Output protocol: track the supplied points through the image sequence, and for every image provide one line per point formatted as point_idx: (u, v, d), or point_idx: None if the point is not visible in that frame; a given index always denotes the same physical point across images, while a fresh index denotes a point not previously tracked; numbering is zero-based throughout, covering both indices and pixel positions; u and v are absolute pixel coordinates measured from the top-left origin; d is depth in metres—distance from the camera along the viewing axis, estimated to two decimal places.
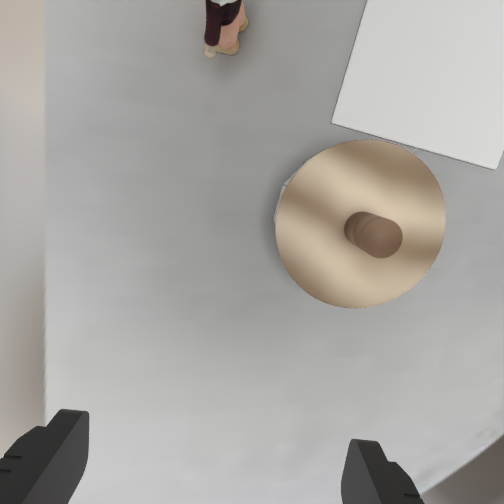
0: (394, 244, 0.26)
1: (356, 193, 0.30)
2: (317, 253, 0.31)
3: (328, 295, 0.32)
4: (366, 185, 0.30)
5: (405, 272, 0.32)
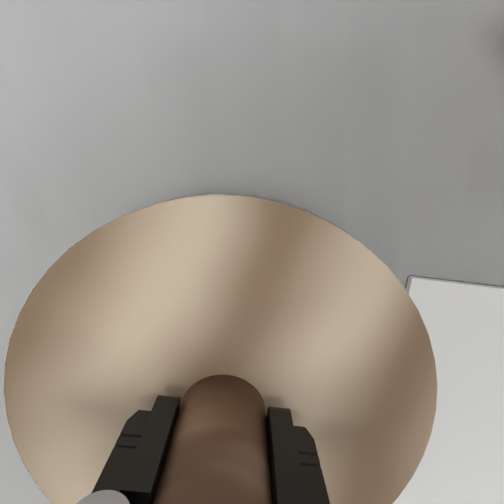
0: None
1: (308, 385, 0.12)
2: (137, 321, 0.11)
3: (27, 369, 0.12)
4: (329, 404, 0.12)
5: None
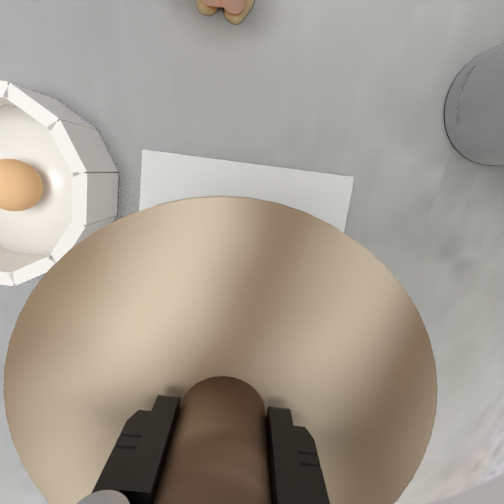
0: None
1: (308, 387, 0.12)
2: (136, 322, 0.11)
3: (27, 371, 0.12)
4: (329, 406, 0.12)
5: None
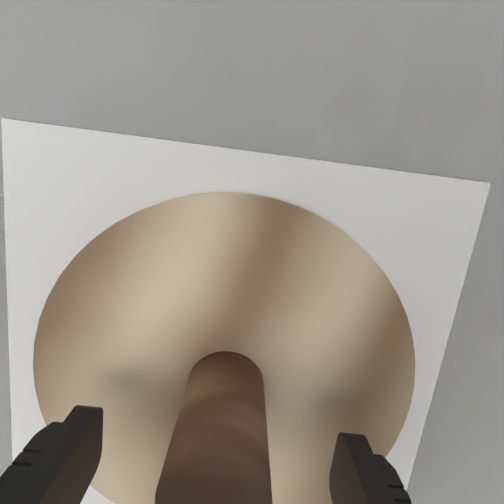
0: None
1: (301, 361, 0.14)
2: (151, 303, 0.13)
3: (54, 346, 0.13)
4: (320, 378, 0.14)
5: (146, 487, 0.15)
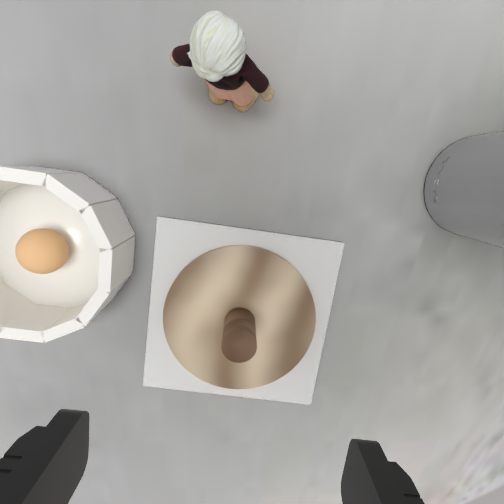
0: (235, 357, 0.29)
1: (270, 312, 0.34)
2: (211, 287, 0.33)
3: (172, 304, 0.34)
4: (277, 319, 0.34)
5: (205, 365, 0.35)
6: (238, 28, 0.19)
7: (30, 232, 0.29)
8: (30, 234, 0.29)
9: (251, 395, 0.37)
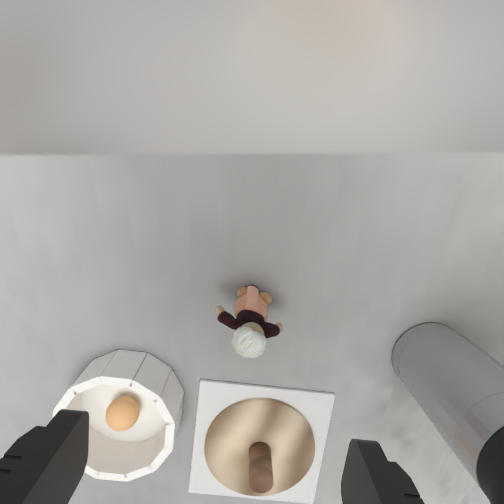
0: (258, 490, 0.42)
1: (281, 444, 0.47)
2: (239, 429, 0.46)
3: (211, 440, 0.47)
4: (287, 448, 0.47)
5: (234, 480, 0.48)
6: (262, 340, 0.32)
7: (116, 405, 0.42)
8: (116, 407, 0.42)
9: (268, 498, 0.50)
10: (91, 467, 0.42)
